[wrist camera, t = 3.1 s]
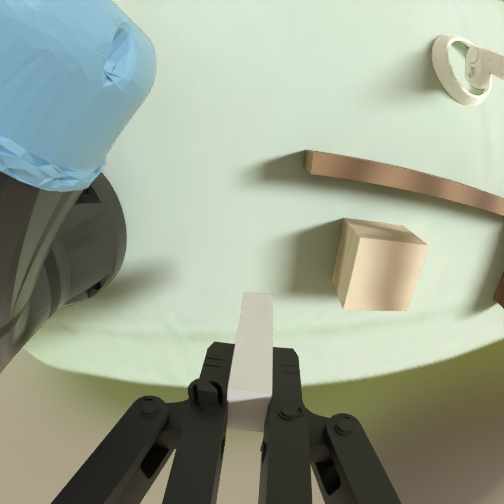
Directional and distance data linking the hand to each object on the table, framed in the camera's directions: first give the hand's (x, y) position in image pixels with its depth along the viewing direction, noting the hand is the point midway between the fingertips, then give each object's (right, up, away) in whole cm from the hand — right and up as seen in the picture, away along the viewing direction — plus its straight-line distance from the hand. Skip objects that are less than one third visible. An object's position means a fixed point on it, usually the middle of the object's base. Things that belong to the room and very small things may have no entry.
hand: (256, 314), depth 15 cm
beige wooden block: (+10, +3, +9) cm, 14 cm away
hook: (+20, +21, +2) cm, 29 cm away
